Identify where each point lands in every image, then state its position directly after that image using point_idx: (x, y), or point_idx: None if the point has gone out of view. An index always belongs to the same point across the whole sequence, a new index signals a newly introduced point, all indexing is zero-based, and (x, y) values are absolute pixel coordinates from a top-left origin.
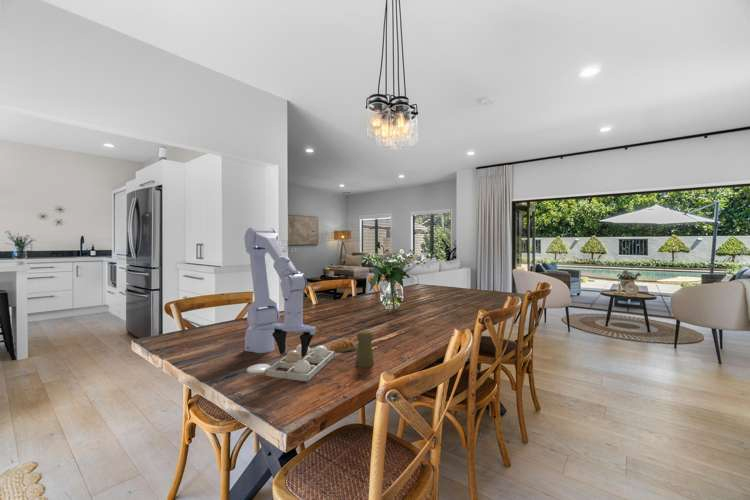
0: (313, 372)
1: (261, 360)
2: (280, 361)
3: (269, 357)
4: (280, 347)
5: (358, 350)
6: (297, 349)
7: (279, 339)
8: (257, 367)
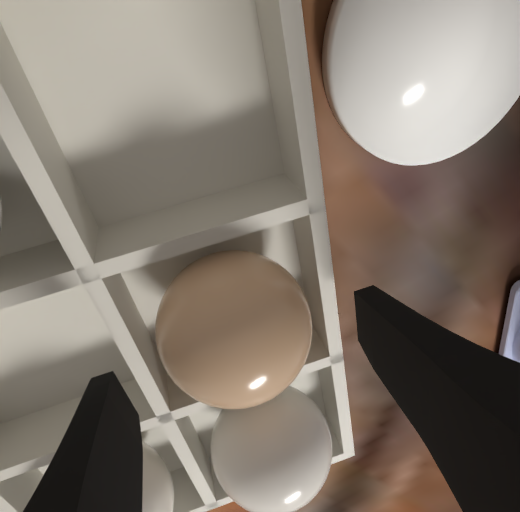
0: None
1: (514, 218)
2: (296, 214)
3: (485, 282)
4: (400, 331)
5: None
6: (296, 431)
7: (483, 410)
8: (468, 57)
